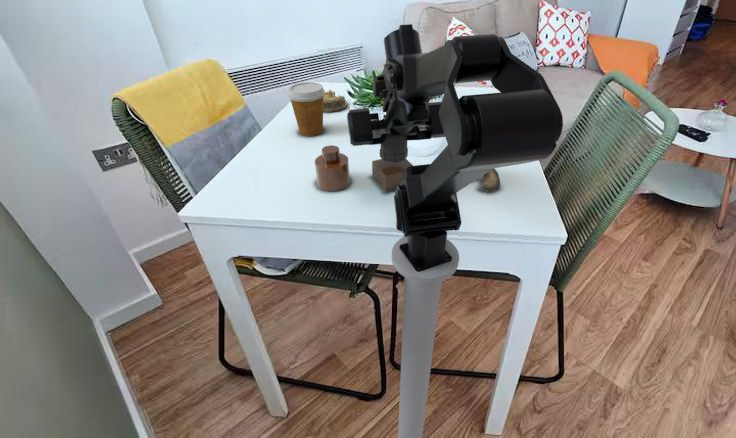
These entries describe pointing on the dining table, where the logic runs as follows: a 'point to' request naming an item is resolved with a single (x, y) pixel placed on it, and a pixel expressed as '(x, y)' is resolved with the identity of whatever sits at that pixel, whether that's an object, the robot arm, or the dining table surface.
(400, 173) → the stand
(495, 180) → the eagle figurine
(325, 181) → the bottle
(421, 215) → the robot arm
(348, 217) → the dining table surface
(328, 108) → the cake
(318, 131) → the disposable coffee cup
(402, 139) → the cap
